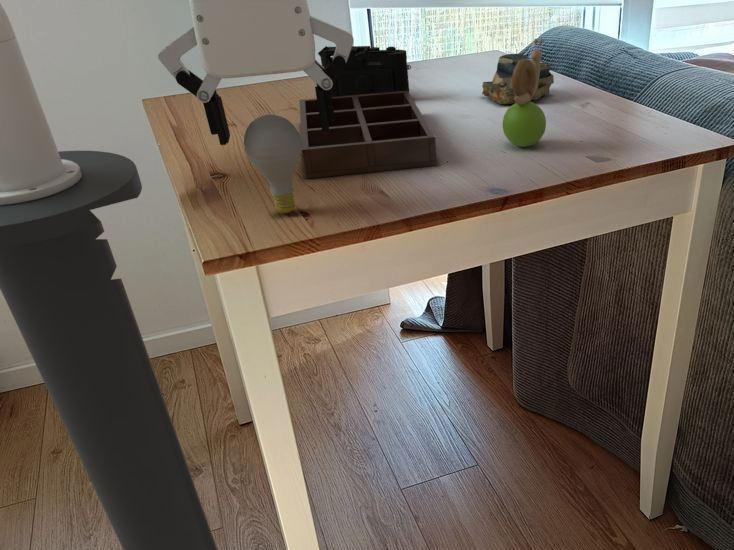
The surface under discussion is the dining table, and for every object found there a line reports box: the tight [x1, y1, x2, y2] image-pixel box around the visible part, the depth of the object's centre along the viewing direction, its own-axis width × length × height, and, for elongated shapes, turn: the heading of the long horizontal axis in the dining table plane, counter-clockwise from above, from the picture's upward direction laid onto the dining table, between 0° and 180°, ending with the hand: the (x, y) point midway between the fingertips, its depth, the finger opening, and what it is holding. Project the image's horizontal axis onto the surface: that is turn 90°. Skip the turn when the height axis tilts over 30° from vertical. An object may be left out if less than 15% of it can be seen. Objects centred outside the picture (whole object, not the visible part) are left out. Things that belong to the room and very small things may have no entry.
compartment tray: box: [298, 91, 438, 179], centre depth 89 cm, size 15×23×3 cm
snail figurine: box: [502, 38, 547, 148], centre depth 85 cm, size 5×6×12 cm
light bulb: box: [243, 114, 302, 215], centre depth 69 cm, size 6×5×10 cm
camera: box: [317, 45, 412, 97], centre depth 107 cm, size 14×7×8 cm, turn 86°
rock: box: [481, 53, 555, 105], centre depth 105 cm, size 9×9×6 cm
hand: (276, 135), depth 67 cm, fingers open, 9 cm apart
